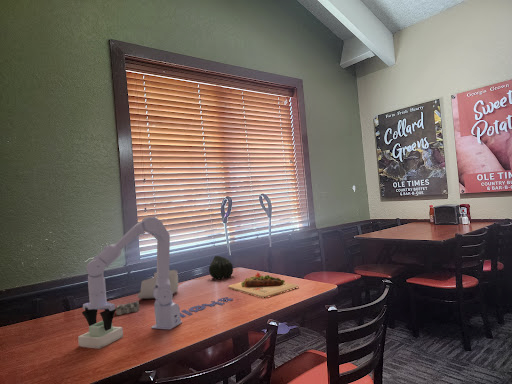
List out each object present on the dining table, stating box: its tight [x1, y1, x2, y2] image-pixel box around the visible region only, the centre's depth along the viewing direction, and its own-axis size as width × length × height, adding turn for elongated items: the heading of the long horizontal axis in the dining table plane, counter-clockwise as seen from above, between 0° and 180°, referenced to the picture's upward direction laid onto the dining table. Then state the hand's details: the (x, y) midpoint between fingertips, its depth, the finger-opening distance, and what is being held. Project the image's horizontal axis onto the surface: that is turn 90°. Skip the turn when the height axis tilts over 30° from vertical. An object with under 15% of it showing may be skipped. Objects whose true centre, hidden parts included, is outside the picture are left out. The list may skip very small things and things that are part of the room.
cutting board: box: [228, 271, 299, 298], centre depth 179 cm, size 35×23×8 cm
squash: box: [208, 255, 234, 280], centre depth 214 cm, size 14×15×15 cm
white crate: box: [77, 326, 124, 350], centre depth 124 cm, size 11×11×4 cm
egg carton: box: [115, 300, 140, 316], centre depth 160 cm, size 11×8×4 cm
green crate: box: [88, 320, 114, 338], centre depth 125 cm, size 5×6×6 cm
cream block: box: [137, 269, 179, 299], centre depth 185 cm, size 20×19×12 cm
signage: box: [180, 296, 234, 318], centre depth 155 cm, size 28×1×10 cm
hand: (100, 329), depth 124 cm, fingers open, 7 cm apart
